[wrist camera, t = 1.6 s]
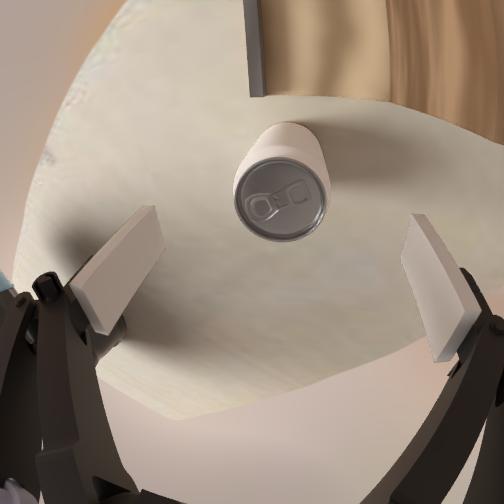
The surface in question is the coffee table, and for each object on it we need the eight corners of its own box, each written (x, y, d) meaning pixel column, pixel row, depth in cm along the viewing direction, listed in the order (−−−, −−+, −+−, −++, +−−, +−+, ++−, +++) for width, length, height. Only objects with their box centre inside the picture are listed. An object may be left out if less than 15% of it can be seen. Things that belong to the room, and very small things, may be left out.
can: (244, 137, 26) (208, 176, 17) (305, 111, 24) (309, 133, 14) (272, 192, 29) (255, 259, 19) (330, 170, 27) (347, 230, 17)
